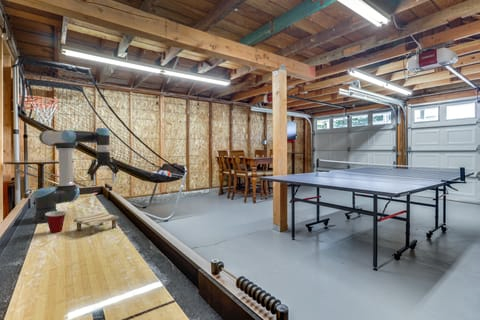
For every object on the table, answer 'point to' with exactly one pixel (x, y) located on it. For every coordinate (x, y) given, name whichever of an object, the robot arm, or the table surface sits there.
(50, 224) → the plastic cup
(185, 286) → the table surface
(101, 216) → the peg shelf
